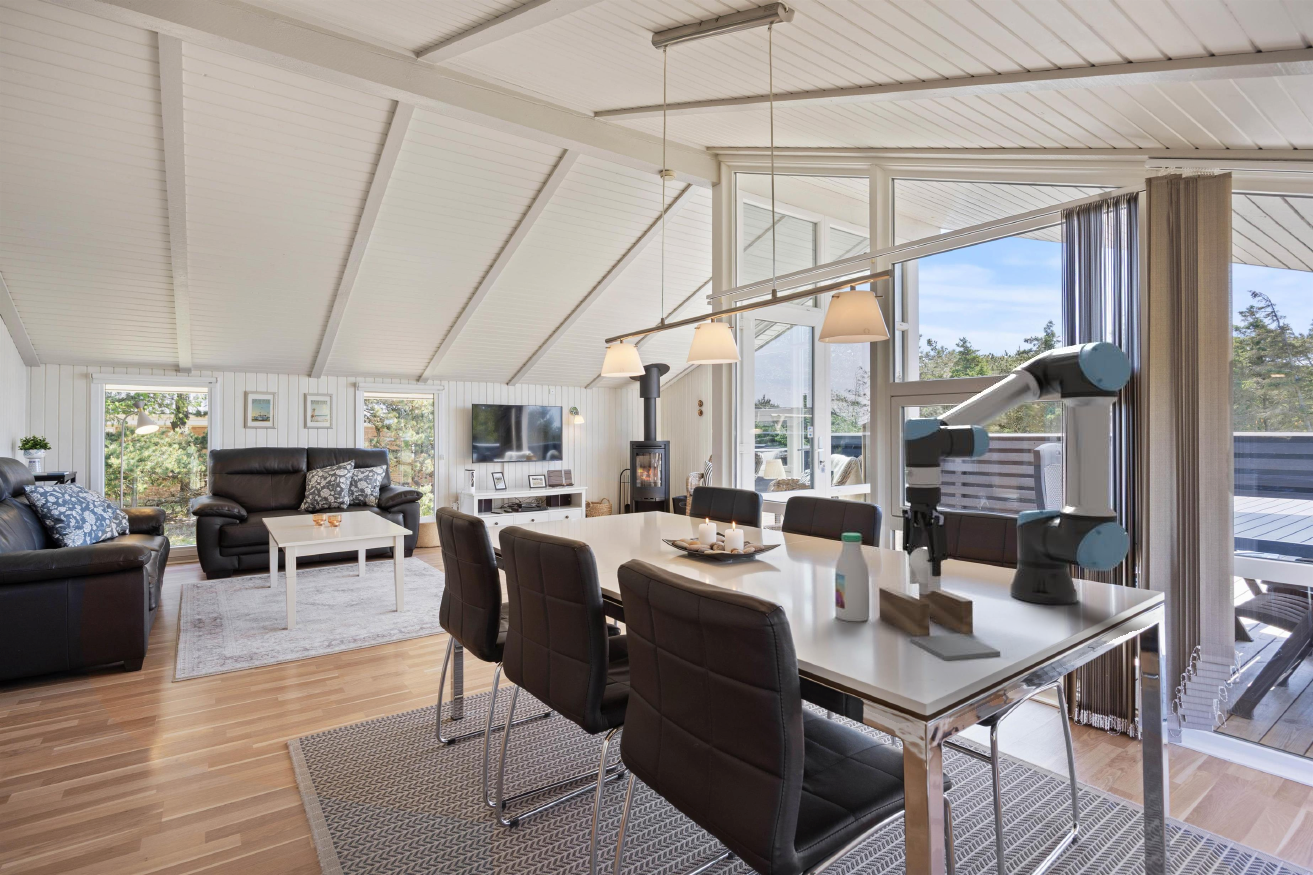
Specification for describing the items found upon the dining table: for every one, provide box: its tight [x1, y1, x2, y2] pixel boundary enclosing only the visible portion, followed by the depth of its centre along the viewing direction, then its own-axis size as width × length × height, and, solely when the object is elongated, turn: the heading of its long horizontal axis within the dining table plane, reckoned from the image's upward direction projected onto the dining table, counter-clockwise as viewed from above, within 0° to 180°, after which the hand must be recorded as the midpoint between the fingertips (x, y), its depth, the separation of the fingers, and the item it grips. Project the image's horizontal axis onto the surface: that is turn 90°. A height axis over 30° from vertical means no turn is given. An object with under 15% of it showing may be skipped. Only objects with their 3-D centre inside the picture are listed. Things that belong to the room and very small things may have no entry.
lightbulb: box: [910, 546, 935, 596], centre depth 151 cm, size 6×6×11 cm
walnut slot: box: [878, 586, 974, 637], centre depth 151 cm, size 13×16×7 cm
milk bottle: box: [834, 532, 870, 622], centre depth 157 cm, size 8×8×20 cm
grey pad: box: [909, 632, 1001, 661], centre depth 134 cm, size 12×12×1 cm
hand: (924, 586), depth 151 cm, fingers closed on lightbulb, 6 cm apart
